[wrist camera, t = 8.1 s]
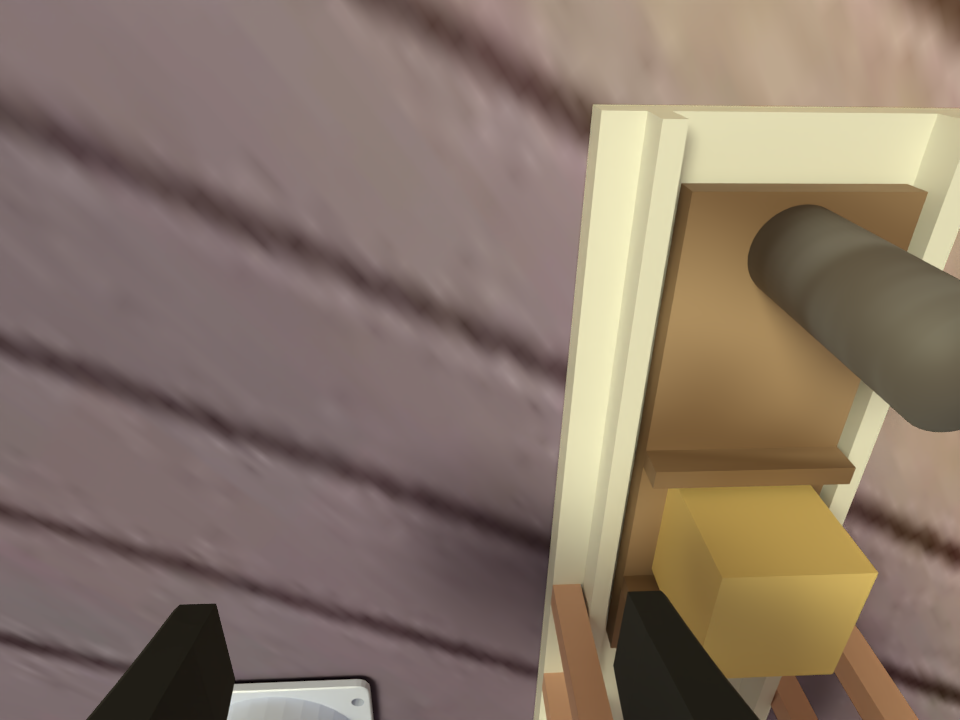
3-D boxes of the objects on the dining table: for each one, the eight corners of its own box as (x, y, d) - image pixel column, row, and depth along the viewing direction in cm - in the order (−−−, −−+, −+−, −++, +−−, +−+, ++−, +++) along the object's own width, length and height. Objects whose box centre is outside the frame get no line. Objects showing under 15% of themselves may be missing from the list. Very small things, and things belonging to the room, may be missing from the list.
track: (727, 785, 32) (813, 1018, 25) (522, 795, 32) (547, 1038, 24) (981, 108, 17) (1419, 195, 9) (584, 104, 16) (710, 193, 9)
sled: (757, 623, 24) (860, 825, 18) (605, 629, 24) (660, 837, 18) (907, 184, 16) (1178, 289, 10) (681, 183, 16) (827, 292, 10)
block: (768, 564, 21) (832, 673, 18) (651, 568, 21) (693, 679, 18) (799, 470, 20) (878, 573, 16) (671, 473, 19) (722, 578, 16)
